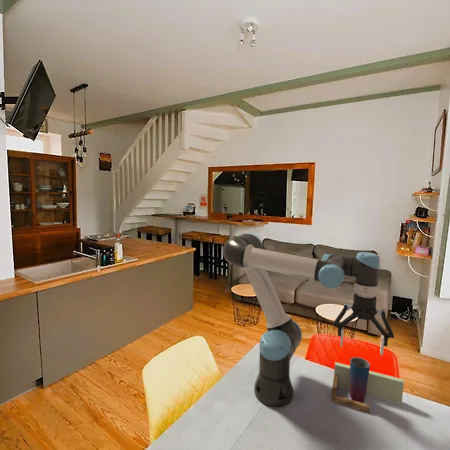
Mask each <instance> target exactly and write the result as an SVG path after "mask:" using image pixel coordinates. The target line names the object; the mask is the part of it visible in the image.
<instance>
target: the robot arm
mask: <svg viewBox="0 0 450 450" xmlns="http://www.w3.org/2000/svg"><path fill="white" fill-rule="evenodd" d="M222 254H223V258H224V260H225V261H226V262H228V263H229V264H230V265H232V266H235V267H239V268H240V269H241V270H244V271H245V273H246V276H247V278H248V281H249V282H250V284H251V287H252V289H253V291H254V293H255V297H256V299H257V301H258V304H259V305H260V308H261V309H262V313H263V314H264V316H265V319H266V324H265V328H266V330H267V331H266V332H264V333H263V334H262V335H261V337H260V339H259V340H260V341H259V345H258V346H259V361H258V365H259V370H258V371H259V372H258V375H257V377H256V379H255V383H254V386H253V387H254V391H253V392H254V396H255V397H256V399H257V400H258V401H260V402H261V403H262V404H263V405H266V406H269V407H272V408H280V407H285V406H287V405H289V404H290V403H291V402H292V401H293V399H294V388H293V384H292V381H291V378H290V369H291V367H290V366H291V360H292V358H293V356H294V354H295V353H296V351H297V348H299V346H300V345H301V344H300V343H301V342H302V337H303V333H302V329H301V327H300V325H299V324H298V323H297V322H296V321H294V319H293V318H292V316H291V315H289V314H288V313H286V311H285V309H284V307H283V305H282V302H281V300H280V298H279V296H278V294H277V291H276V290H275V287H274V285H273V283H272V280H271V278H270V275H269V274H268V272H273V273H277V274H283V275H286V276H287V275H288V276H291V277H292V276H293V277H296V278H300V279H306V280H309V281H314V282H319V283H320V284H321V285H323V286H324V287H325V288H328V289H334V288H337V287H339V286H341V284H342V283H343V282H344V280H345V277H347V278H354V287H353V291H354V293H353V299H352V300H353V302H352V305H351V304H348V303H347V302H345V303H344V304H343V307H342V309H341V310H340V312H339V314H337V315H338V316H336V318H335V320H334V321H333V327H336V328H337V336H338V337H340V343H339V344H340V347H343V342H344V329H345V326H347V325H348V324H349V323H350V322H352V321H353V320H355V319H356V318H357V319H359V320H364V321H370V322H372V323H373V324H374V326H375V327H376V328H377V330H378V331H379V332H380V334H381V337H380V338H381V339H380V346H379V347H380V349H379V352H380V356H383V355H384V347H388V343H389V339H395V334H394V332H393V329H392V327H391V325H390V322H389V321H388V319H387V315H386V310H385V309H383V308H382V309H377V296H378V284H379V274H380V256H379V255H378V254H377V253H374V252H368V251H361V252H358V253H356V256H347V255H346V256H345V255H338V254H332V253H331V254H328V253H325V254H323V255H322V258H321V259H317V258H311V257H306V256H301V255H295V254H290V253H284V252H280V251H275V250H269V249H263V242H262V240H261V239H260V237H258V235H255V234H253V233H243V234H240V235H238V236H233V237H231V238H229V239H227V240H226V242H225V243H224V244H223V248H222ZM350 310H351V311H352V312H351V314H350V315H348V316H347V317H346V318H344V319H343V317H344V316H345V315H346V313H347V312H349V311H350ZM376 315H378V316H379V317H381V320H382V321H383V324H384V326H385V328H386V329H385V328H384V327H383V326H382V325H381V323H380V322H379V321H378V319H377V318H376V317H375V316H376ZM342 319H343V320H342ZM341 320H342V321H341Z"/></svg>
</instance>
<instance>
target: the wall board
mask: <svg viewBox="0 0 450 450" xmlns="http://www.w3.org/2000/svg"><path fill="white" fill-rule="evenodd" d="M333 372H334V373H333V375H334V374H337V375H338V386H337V387H338V388H344V389H347V390H349V391H350V364H345V363H340V362H337V361H335V362H334V371H333ZM404 382H405V381H404V378H403V379H402V378H401V377H395V376H392V375H389V374H388V375H387V374H384V373H380V372H375V371H372V370H369V375H368V382H367V388H366V395H367V396H371V397H374V398H378V399H381V400H384V401H388V402H391V403H393V404H394V403H395V404H398V405H403V395H404V394H403V393H404V385H405V384H404Z"/></svg>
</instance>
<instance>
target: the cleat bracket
mask: <svg viewBox="0 0 450 450" xmlns="http://www.w3.org/2000/svg"><path fill="white" fill-rule="evenodd" d="M338 387H339V386H338V375H337V374H334V373H333V380H332V387H331V400H330V401H331V402H333V403H335V404H336V403H337V404H340V405H342V406H345V407H347V408H352V409H355V410H359V411H361V412H365V413H368V414H370V410H371V405H370V404H367V403H365V402H364V403H361V402H358V401H354V400H352V399H351V398H348V397H344V396H341V395H338V394H337V392H338Z"/></svg>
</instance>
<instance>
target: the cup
mask: <svg viewBox="0 0 450 450" xmlns="http://www.w3.org/2000/svg"><path fill="white" fill-rule="evenodd" d="M349 360H350V361H349V363H350V364H349V366H350V390H349V393H350V394H349V397H350V398H349V399H351V400H354V401H358V402H361V403H364V404H365V400H366V395H367V394H366V388H367V382H368V375H369V371H370V367H371V363H370V362H369V361H368V360H367V359H364V358H363V357H359V356H357V357H356V356H355V357H354V356H353V357H351V358H350V359H349Z"/></svg>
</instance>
